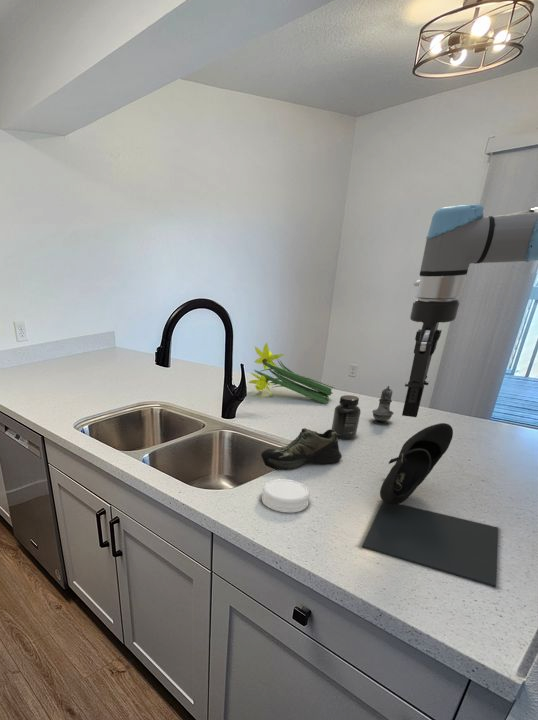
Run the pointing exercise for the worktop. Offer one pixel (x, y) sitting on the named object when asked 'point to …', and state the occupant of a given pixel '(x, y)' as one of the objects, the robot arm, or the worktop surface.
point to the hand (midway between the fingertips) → (409, 415)
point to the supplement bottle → (346, 417)
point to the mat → (436, 541)
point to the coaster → (285, 495)
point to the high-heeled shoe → (415, 462)
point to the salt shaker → (383, 408)
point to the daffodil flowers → (263, 380)
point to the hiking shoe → (304, 451)
